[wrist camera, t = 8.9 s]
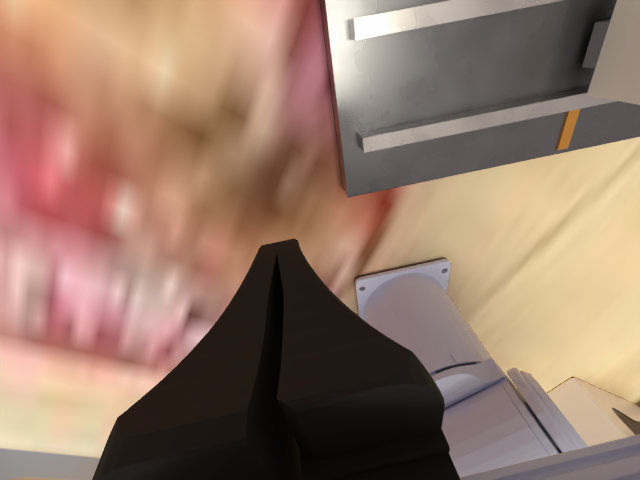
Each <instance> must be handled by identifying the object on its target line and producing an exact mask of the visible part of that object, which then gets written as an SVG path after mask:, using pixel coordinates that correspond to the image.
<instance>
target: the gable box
mask: <svg viewBox="0 0 640 480" xmlns="http://www.w3.org/2000/svg"><path fill="white" fill-rule="evenodd" d="M547 395H548V396H549V397H550V398H551V400H552V401H553V402H554V403H555V405H556V406H557V407H558V408H559V410H560V411H561V412H562V414H563V415H564V416H565V417H566V419H567V420H568V421H569V423H570V424H571V425H572V426H573V428H574V429H575V430H576V432H577V433H578V434H579V435H580V437H581V438H582V439H583V441H584V442H585V443H586V444H587V446H593V445H597V444H601V443H605V442H609V441H613V440H617V439H622V438H626V437H630V436H634V435H638V434H640V407H639V406H638V405H635V404H633V403H631V402H628V401H626V400H624V399H622V398H619V397H617V396H615V395H613V394H610V393H608V392H606V391H604V390H601V389H599V388H597V387H595V386H592V385H590V384H588V383H585V382H583V381H581V380H579V379H576V378H574V377H571V378H570V379H568V380H567V381H565V382H563V383H562V384H560V385H559V386H557V387H556V388H554V389H552V390H551V391H549V392H548V393H547Z"/></svg>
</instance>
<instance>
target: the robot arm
mask: <svg viewBox="0 0 640 480" xmlns="http://www.w3.org/2000/svg"><path fill="white" fill-rule="evenodd" d="M450 266H451V264H450V262H449V261H448V259H441V260H437V261H432V262H428V263H423V264H418V265H414V266H409V267H405V268H400V269H395V270H391V271H386V272H382V273H377V274H372V275H368V276H363V277H359V278H357V279H356V281H355V288H356V296H357V304H358V312H359V316H358V315H357V314H355V313H354V312H353V311H352V310H350V309H349V308H348V307H347V306H346V305H345V304H344V303H343V302H341V301H340V300H339V299H338V298H337V297H336V296H335V295H334V294H333V293H332V292H331V291H330V290H329V288H328V287H327V286H326V285H325V284H324V283H323V282H322V280H321V279H320V278H319V277H318V276H317V274H316V273H315V272H314V270H313V269H312V267H311V266H310V265H309V263H308V262H307V260H306V259H305V257H304V255H303V253H302V251H301V249H300V247H299V243H298V241H297V240H296V239H290V240H286V241H281V242H276V243H272V244H267V245H262V246H261V247H260V248H259V250H258V253H257V255H256V257H255V259H254V261H253V263H252V265H251V267H250V269H249V271H248V273H247V275H246V277H245V279H244V280H243V282H242V284H241V286H240V287H239V289H238V291H237V292H236V294H235V296H234V297H233V299H232V300H231V302H230V304H229V305H228V307H227V308H226V309H225V311H224V312H223V314H222V315H221V316H220V318H219V319H218V320H217V322H216V323H215V324H214V326H213V327H212V328H211V329H210V331H209V332H208V333H207V334H206V335H205V336H204V337H203V339H202V340H201V341H200V342H199V343H198V344H197V345H196V346H195V348H194V349H193V350H192V351H191V352H190V353H189V354H188V355H187V356H186V357H185V358H184V359H183V360H182V361H181V362H180V363H179V364H178V365H177V366H176V367H175V368H174V369H173V370H172V371H171V372H170V373H169V374H168V375H167V376H166V377H165V378H164V379H163V380H161V381H160V382H159V383H158V384H157V385H156V386H155V387H154V388H153V389H151V390H150V391H149V392H148V393H147V394H145V395H144V396H143V397H142V398H141V399H140V400H138V401H137V402H136V403H135V404H134V405H132V406H131V407H130V408H129V409H128V410H127V411H125V412H124V413H123V414H122V415H120V416H119V417H118V418H117V420H116V422H115V424H114V427H113V429H112V431H111V433H110V435H109V438H108V440H107V443H106V445H105V448H104V451H103V453H102V456H101V458H100V461H99V464H98V466H97V469H96V472H95V474H94V477H93V479H92V480H640V434H638V435H634V436H630V437H626V438H622V439H617V440H613V441H609V442H605V443H601V444H597V445H593V446H587V444H586V443H585V442H584V441H583V439H582V438H581V437H580V435H579V434H578V433H577V432H576V430H575V429H574V428H573V426H572V425H571V424H570V423H569V421H568V420H567V419H566V417H565V416H564V415H563V414H562V412H561V411H560V410H559V408H558V407H557V406H556V405H555V403H554V402H553V401H552V400H551V398H550V397H549V396H548V395H547V393H546V392H545V391H544V389H543V388H542V387H541V386H540V385H539V383H538V382H537V381H536V380H535V378H534V377H533V376H532V375H531V374H530V373H527V372H523V371H519V370H518V369H516V368H512V369H510V370H509V371H507V374H508V376H509V377H510V379H511V380H512V381H511V380H510V379H509V378H508V377H507V375H506V374H505V373H504V372H503V371H502V369H501V368H500V367H499V366H498V364H497V363H496V362H495V361H494V360H493V358H492V357H491V356H490V354H489V353H488V351H487V350H486V349H485V347H484V346H483V344H482V343H481V341H480V340H479V339H478V337H477V336H476V334H475V333H474V331H473V330H472V329H471V327H470V326H469V324H468V323H467V321H466V320H465V319H464V317H463V316H462V314H461V313H460V312H459V310H458V309H457V307H456V306H455V304H454V303H453V302H452V300H451V299H450V297H449V296H448V294H447V291H448V283H449V274H450ZM443 269H444V270H443ZM363 286H364V287H363ZM360 287H362V288H360ZM512 382H513V383H514V384H515V385H514V384H513V383H512ZM515 386H516V387H517V388H516V387H515Z"/></svg>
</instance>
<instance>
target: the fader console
mask: <svg viewBox="0 0 640 480" xmlns="http://www.w3.org/2000/svg"><path fill="white" fill-rule="evenodd" d="M616 2H617V0H320V5H321V13H322V21H323V30H324V38H325V46H326V54H327V62H328V71H329V79H330V87H331V95H332V103H333V111H334V120H335V128H336V136H337V144H338V152H339V161H340V169H341V177H342V185H343V189H344V191H345V193H346V195H347V197H352V196H357V195H362V194H367V193H372V192H376V191H381V190H386V189H391V188H396V187H400V186H405V185H410V184H415V183H420V182H424V181H429V180H434V179H439V178H443V177H448V176H453V175H458V174H463V173H467V172H472V171H477V170H482V169H487V168H491V167H496V166H501V165H506V164H511V163H515V162H520V161H525V160H530V159H535V158H539V157H544V156H549V155H554V154H559V153H563V152H568V151H573V150H578V149H582V148H587V147H592V146H597V145H602V144H606V143H611V142H616V141H621V140H626V139H630V138H635V137H640V105H637V104H632V103H626V102H621V101H615V100H610V99H604V98H598V97H593V96H587V93H588V89H589V86H590V83H591V80H592V77H593V74H594V71H595V68H585V67H582V65H583V62H584V58H585V55H586V52H587V48H588V45H589V41H590V38H591V35H592V31H593V28H594V25H595V22H599V21H604V20H609V19H611V17H612V14H613V11H614V8H615V5H616Z"/></svg>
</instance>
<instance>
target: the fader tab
mask: <svg viewBox="0 0 640 480" xmlns="http://www.w3.org/2000/svg"><path fill="white" fill-rule="evenodd" d="M582 67H585V68H595V71H594V74H593V77H592V80H591V83H590V86H589V89H588V93H587V96H593V97H598V98H604V99H610V100H615V101H621V102H626V103H632V104H637V105H640V0H617V2H616V5H615V8H614V11H613V14H612V17H611V19H609V20H604V21H599V22H595V25H594V28H593V31H592V35H591V38H590V41H589V45H588V48H587V52H586V55H585V58H584V62H583V65H582Z"/></svg>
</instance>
